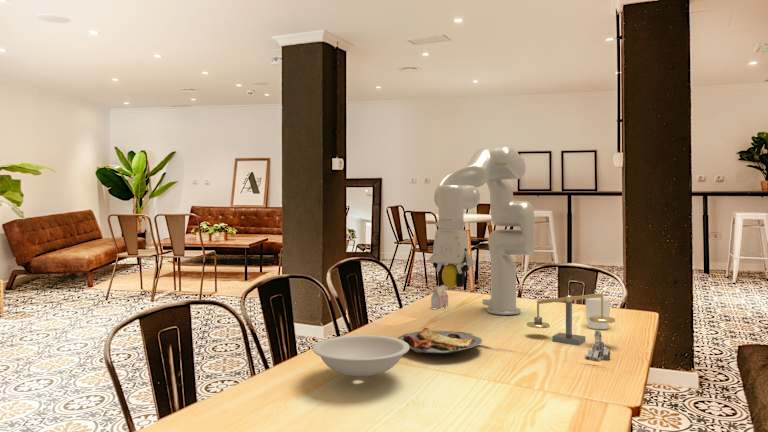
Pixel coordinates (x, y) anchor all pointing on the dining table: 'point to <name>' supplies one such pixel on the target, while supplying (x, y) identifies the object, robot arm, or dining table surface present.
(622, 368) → the dining table surface
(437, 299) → the tea bag
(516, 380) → the dining table surface
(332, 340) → the soup bowl
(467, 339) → the food plate
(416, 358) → the dining table surface
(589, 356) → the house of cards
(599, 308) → the white cup
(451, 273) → the lemon
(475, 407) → the dining table surface
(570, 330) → the balance
